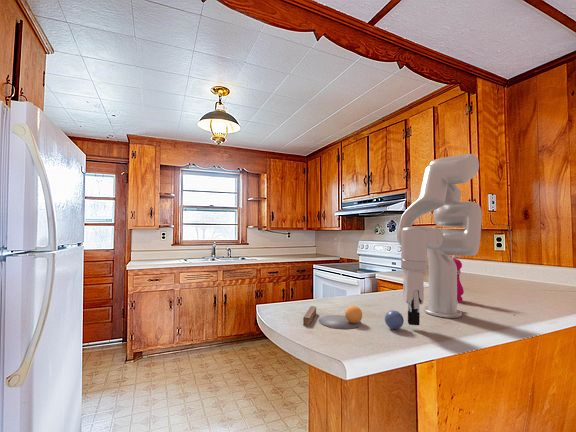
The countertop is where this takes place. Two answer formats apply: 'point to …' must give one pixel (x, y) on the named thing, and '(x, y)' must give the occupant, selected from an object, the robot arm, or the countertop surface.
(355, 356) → the countertop surface
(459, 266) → the pepper mill
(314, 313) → the rail
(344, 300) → the countertop surface
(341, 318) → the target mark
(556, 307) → the countertop surface
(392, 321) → the blue ball
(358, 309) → the object ball
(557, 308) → the countertop surface
